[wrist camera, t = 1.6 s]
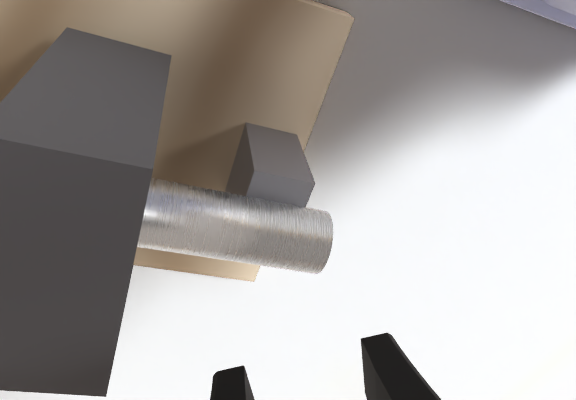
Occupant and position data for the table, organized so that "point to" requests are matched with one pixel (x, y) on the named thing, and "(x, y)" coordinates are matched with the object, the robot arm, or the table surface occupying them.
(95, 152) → the tall grey prism
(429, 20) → the table surface
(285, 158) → the pipe rig
